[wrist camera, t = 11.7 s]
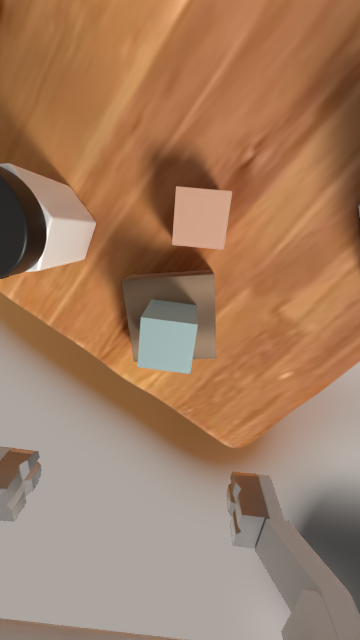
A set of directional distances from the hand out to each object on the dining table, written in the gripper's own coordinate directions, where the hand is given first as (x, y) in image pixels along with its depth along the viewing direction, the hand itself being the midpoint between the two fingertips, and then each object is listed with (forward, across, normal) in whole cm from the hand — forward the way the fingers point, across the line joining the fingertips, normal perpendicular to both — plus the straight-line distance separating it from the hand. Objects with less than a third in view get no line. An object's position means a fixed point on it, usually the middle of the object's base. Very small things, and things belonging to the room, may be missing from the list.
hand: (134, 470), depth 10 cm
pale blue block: (+18, 0, 0) cm, 18 cm away
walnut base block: (+22, 0, 0) cm, 22 cm away
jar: (+22, +14, -8) cm, 27 cm away
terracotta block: (+22, -2, -10) cm, 24 cm away
